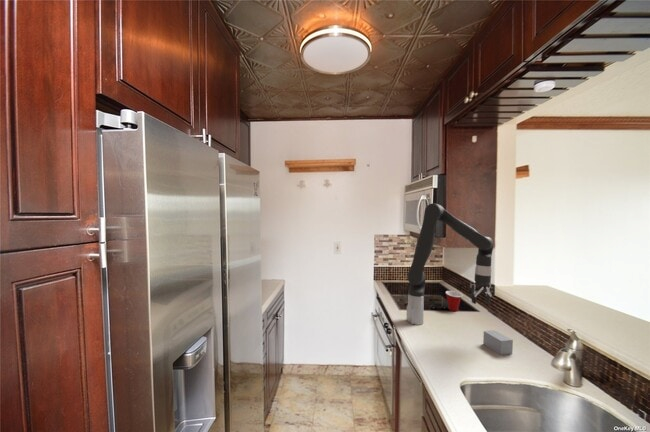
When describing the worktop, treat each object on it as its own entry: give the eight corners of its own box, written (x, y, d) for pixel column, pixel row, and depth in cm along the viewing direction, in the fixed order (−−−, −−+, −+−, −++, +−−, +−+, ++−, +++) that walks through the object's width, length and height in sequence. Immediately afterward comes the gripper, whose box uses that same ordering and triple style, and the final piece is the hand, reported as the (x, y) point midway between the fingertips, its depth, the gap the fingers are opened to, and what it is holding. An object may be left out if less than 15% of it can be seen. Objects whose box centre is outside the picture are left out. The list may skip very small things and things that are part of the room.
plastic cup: (455, 313, 180) (455, 296, 180) (441, 308, 189) (442, 292, 189) (465, 311, 185) (466, 294, 185) (452, 306, 194) (452, 290, 194)
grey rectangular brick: (500, 354, 128) (501, 340, 128) (483, 343, 139) (483, 331, 139) (512, 353, 130) (512, 339, 130) (494, 342, 140) (494, 330, 140)
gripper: (488, 271, 148) (486, 300, 148) (466, 271, 145) (464, 300, 146) (500, 275, 140) (498, 305, 141) (476, 275, 138) (474, 306, 138)
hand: (480, 303), depth 143 cm, fingers open, 8 cm apart
